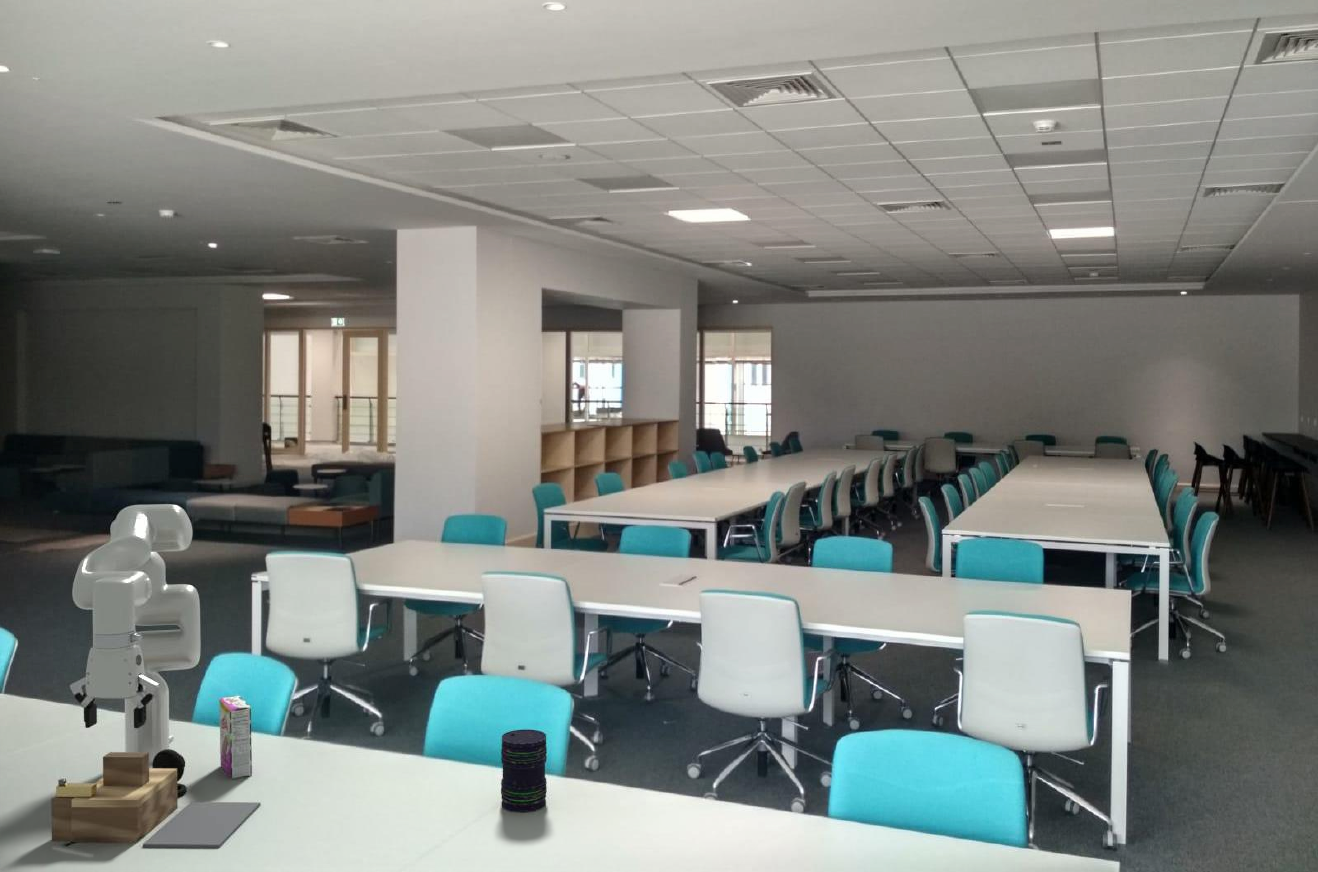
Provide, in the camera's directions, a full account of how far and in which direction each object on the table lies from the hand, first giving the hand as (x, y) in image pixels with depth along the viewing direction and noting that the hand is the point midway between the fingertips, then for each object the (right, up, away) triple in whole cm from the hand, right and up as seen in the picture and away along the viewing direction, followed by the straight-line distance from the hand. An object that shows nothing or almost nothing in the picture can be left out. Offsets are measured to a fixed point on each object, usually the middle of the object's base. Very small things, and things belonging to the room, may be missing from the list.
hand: (115, 726), depth 217 cm
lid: (-2, -15, +8) cm, 17 cm away
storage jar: (+78, -23, +21) cm, 84 cm away
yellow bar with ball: (-8, -14, +1) cm, 16 cm away
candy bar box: (+8, -21, +40) cm, 46 cm away
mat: (+14, -22, +8) cm, 28 cm away
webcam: (-1, -22, +25) cm, 33 cm away
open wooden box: (-4, -22, +8) cm, 24 cm away
